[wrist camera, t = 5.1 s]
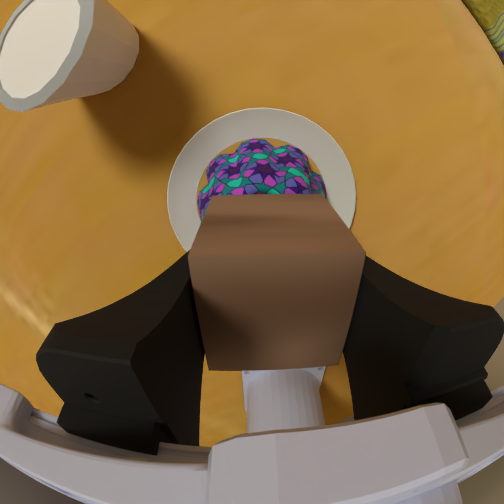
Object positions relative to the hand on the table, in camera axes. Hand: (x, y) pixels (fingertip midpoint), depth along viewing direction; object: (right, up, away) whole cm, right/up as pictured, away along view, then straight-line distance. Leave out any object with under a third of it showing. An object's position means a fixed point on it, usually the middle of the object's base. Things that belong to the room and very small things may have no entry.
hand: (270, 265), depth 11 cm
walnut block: (0, +1, +1) cm, 2 cm away
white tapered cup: (-10, +13, +1) cm, 17 cm away
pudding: (0, +4, +7) cm, 8 cm away
